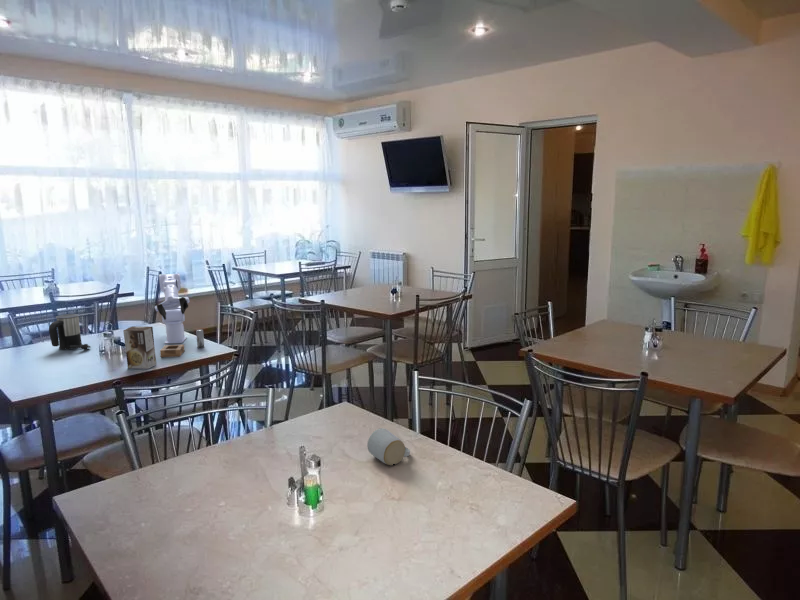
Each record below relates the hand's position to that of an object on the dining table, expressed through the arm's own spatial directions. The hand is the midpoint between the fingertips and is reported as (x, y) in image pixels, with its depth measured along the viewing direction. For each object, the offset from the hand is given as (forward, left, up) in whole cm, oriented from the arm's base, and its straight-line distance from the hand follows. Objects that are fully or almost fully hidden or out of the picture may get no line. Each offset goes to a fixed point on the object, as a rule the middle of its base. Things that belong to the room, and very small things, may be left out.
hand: (173, 315), depth 231 cm
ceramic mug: (+109, +80, -18) cm, 136 cm away
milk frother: (-15, -47, -18) cm, 53 cm away
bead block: (+1, -1, -17) cm, 17 cm away
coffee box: (+17, -9, -17) cm, 26 cm away
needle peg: (-8, +9, -17) cm, 21 cm away
